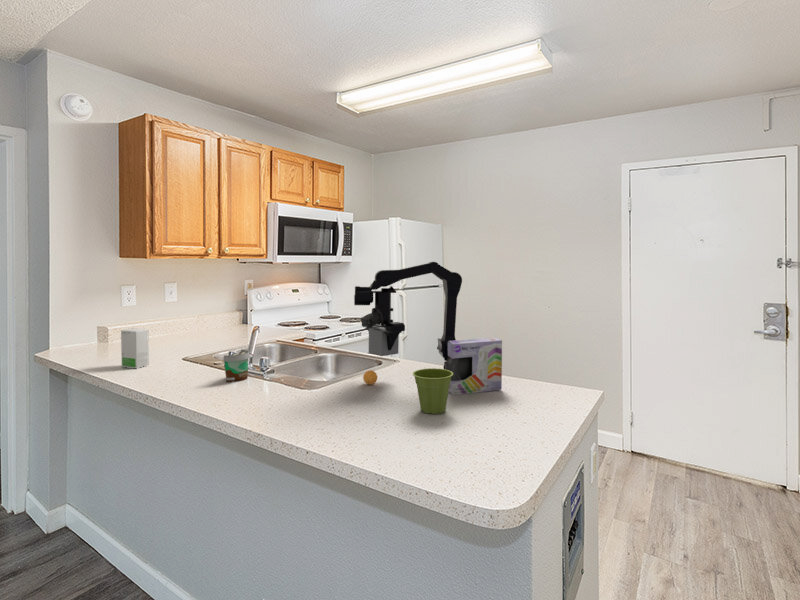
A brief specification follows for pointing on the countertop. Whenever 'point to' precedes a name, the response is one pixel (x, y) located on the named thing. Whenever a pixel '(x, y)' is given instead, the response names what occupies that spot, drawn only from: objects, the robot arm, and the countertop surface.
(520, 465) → the countertop surface
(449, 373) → the plant pot
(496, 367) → the cake pan box
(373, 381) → the ball
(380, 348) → the matte gray foam cube
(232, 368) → the food container
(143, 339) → the skincare box
